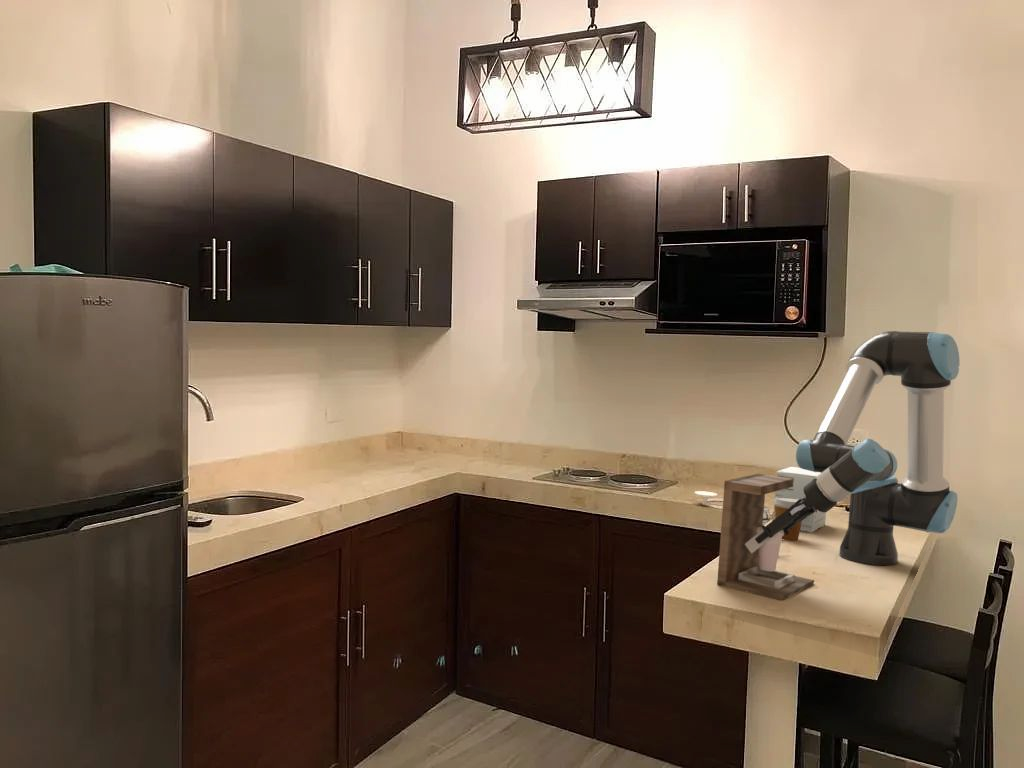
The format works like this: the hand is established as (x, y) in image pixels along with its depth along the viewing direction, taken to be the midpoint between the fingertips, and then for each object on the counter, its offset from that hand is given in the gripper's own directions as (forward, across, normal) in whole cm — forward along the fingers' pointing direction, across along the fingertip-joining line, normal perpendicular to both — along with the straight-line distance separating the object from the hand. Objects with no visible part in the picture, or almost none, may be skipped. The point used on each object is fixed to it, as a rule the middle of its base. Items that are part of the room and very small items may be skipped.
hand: (754, 546), depth 212 cm
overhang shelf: (+4, 0, -9) cm, 9 cm away
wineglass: (+16, +33, +3) cm, 37 cm away
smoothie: (+1, 0, -6) cm, 6 cm away
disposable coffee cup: (+15, +56, +3) cm, 58 cm away
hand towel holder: (+42, +89, +29) cm, 102 cm away
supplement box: (+19, +78, +6) cm, 81 cm away
